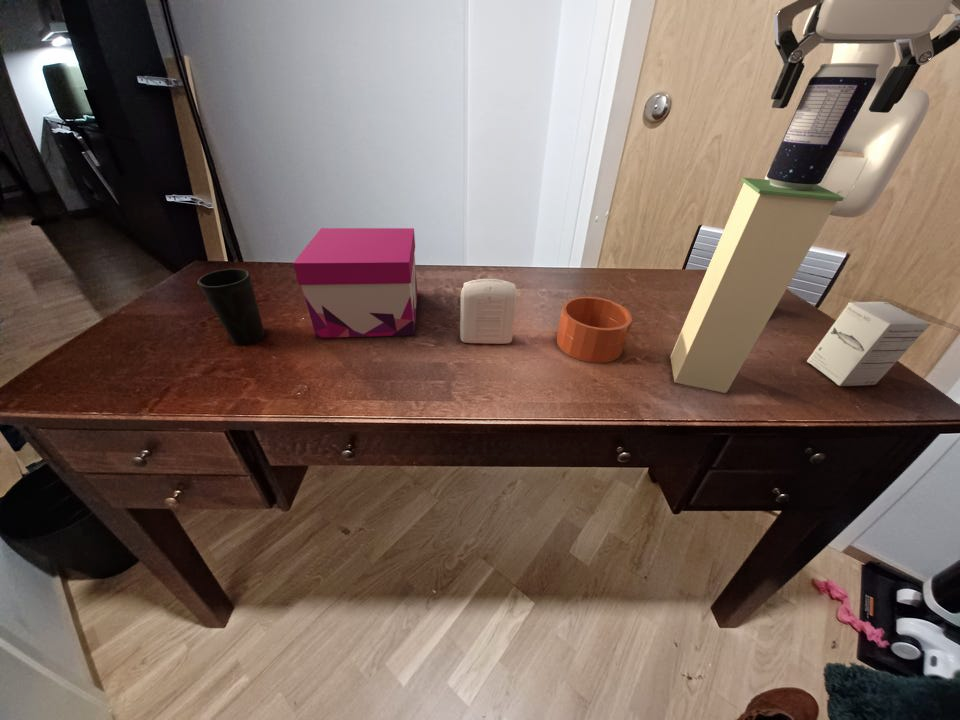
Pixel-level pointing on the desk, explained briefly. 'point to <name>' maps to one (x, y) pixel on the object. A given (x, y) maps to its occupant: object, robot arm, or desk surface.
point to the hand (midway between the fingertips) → (826, 109)
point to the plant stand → (744, 284)
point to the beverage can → (821, 124)
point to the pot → (593, 329)
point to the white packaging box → (866, 342)
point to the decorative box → (360, 281)
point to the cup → (234, 304)
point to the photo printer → (487, 311)
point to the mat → (814, 192)
